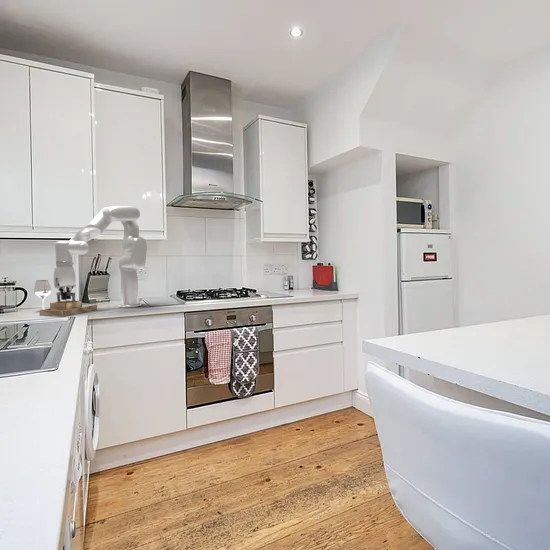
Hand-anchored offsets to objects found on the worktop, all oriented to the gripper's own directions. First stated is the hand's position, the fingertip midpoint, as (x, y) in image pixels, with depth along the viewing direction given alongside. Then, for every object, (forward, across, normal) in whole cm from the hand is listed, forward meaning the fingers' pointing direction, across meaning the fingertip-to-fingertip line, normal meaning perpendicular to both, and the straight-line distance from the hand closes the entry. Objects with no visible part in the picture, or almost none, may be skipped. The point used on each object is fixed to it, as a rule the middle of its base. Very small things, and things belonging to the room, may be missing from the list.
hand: (66, 299), depth 198 cm
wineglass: (+9, -3, -20) cm, 22 cm away
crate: (+7, 0, 0) cm, 7 cm away
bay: (+9, -2, 0) cm, 9 cm away
